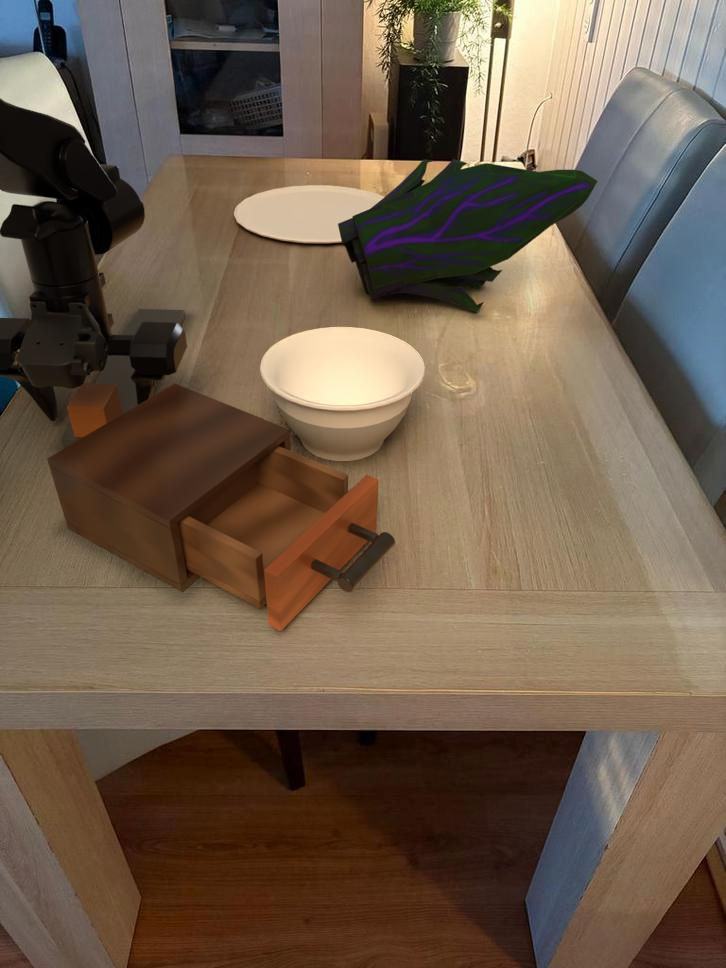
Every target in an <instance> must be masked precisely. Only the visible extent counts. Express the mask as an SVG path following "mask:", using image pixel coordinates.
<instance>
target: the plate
mask: <svg viewBox="0 0 726 968" xmlns="http://www.w3.org/2000/svg"><path fill="white" fill-rule="evenodd" d="M384 197H385V196H384V195H382V194H379V193H376V192H372V191H369V190H365V189H361V188H360V189H359V188H354V187H350V186H349V187H348V186H339V185H325V184H321V185H320V184H319V185H318V184H308V185H293V186H284V187H278V188H273V189H269V190H265V191H261V192H258V193H255V194H253V195H251V196H248V197H246V198H245V199H243V200H242V201H241V202H239V203H238V204H237V205H236V206H235V209H234V211H233V217H234V218H235V220H236V223H237V224H239V225H240V226H241V227H243V228H244V229H245V230H247V231H249V232H251V233H254V234H256V235H258V236H262V237H265V238H269V239H273V240H277V241H283V242H291V243H300V244H327V245H328V244H340V243H342V240H341V236H340V232H339V227H338V223H341V222H343V221H346V220H348V219H351V218H353V217H352V216H354V215H357V214H359V213H361V212H364V211H366V210H369V209H370V208H372V207H373V206H374V205H375V204H377V203H378V202H379V201H380V200H382V199H383V198H384Z"/></svg>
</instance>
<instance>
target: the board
mask: <svg viewBox="0 0 726 968" xmlns="http://www.w3.org/2000/svg"><path fill="white" fill-rule="evenodd" d="M137 309H138V310H137V311H136V313H135V315H134V316H133V318H132V320H131V321H130V323H129V325H128V326H127V328H126V330H125V331H124V332H123V335H135V334H136V332H137V330H138V329H139V327H140V325H141V323H142V322H169V323H178V324H179V325H180V327H181V328H182V325H183V323H184V321H185V319H186V310H185V309H162V308H161V309H159V308H137ZM134 370H135V369H134V368H132V367H131V362H130V357H129V356H117V355H110V357H108V359H107V361H106V365H105V368H104V370H103V371H100V373H99V375H98V377H97V378H96V380H95V381H94V384H116V385H117V389H118V393H119V398H120V403H121V408H122V412H123V414H124V413H125V412H127V411H129V410H130V409H132V408H134V407H135V406H137V405H138V404H137V394H136V385H135V383H134V382H133V380H132V379H131V376H132V374H133V372H134ZM79 439H81V438H78V437H75V436H74V433H73V429H72V425H71V423H70V424H69V425H68V427H67V429H66V431H65V432H64V434H63V436H62V437H61V444H62V448H66V447H67V446H69V445H71V444H73V443H74V442H76V441H78V440H79Z"/></svg>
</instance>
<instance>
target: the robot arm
mask: <svg viewBox="0 0 726 968" xmlns="http://www.w3.org/2000/svg"><path fill="white" fill-rule="evenodd" d="M0 191H2V192H4V193H8V194H14V195H21V196H29V197H40V198H47V199H48V198H49V199H55V200H56V201H53V200H44V201H43V200H42V201H40V202H37V203H35V204H34V205H25V204H18V203H13V204H12V205H11V207H10V211H9V214H8V215H7V217H6V218H5V219H4V220H3V221H2V223H1V226H0V236H1V237H2V238H6V239H15V240H20V242H21V245H22V249H23V253H24V256H25V257H24V258H25V261H26V265H27V268H28V271H29V275H30V279H31V283H32V287H33V292H32V293H31V294H30V296H29V297H28V299H29V307H30V312H31V314H30V315H31V316H30V318H26V317H0V377H1V378H6V379H9V380H13V381H15V382H17V384H19V385H20V387H22V389H24V390H25V392H26V393H27V394H28V395H29V396H30V397H31V399H32V400H33V401H34V402H35V403H36V405H37V406H38V407H39V408H40V410H41V411H42V412H43V413H44V415H45V416H46V418H48V420H49V421H50V422H56V421H57V419H58V417H59V409H58V403H57V397H56V393H55V389H54V388H55V387H56V388H65V389H78V388H79V387H80V386H81V385H82V384H83V383H86V378H87V376H90V375H91V373H93V372H102V371H103V370H104V368H105V365H106V363H107V362H108V358H109V356H111V355H117V356H129V357H130V362H131V367H132V368H134V369H135V370H134V372H133V374H132V376H131V379H132V380H133V382H134V383H135V385H136V394H137V404H138V405H139V404H141V403H142V402H144V401H146V400H147V399H149V398H151V397H152V396H154V392H155V388H156V384H157V382H158V381H159V382H160V381H162V380H164V379H165V377H166V376H170V375H172V374H175V373H177V371H178V369H179V366H180V364H181V361H182V360H183V357H184V355H185V353H186V350H187V348H188V344H187V335H186V331H185V330H184V328H182V326H181V327H180V325H179V324H178V323H169V322H142V323H141V325H140V327H139V329H138V330H137V332H136V334H135V335H124V334H112V329H111V328H112V327H113V325H114V323H115V322H114V318H113V313H108V310H107V305H106V301H105V296H104V292H103V291H104V290H103V287H104V286H105V285H106V278H105V274H104V272H99V267H98V262H97V258H96V256H99V255H104V254H106V253H108V252H109V251H110V250H112V249H114V248H115V247H117V246H118V245H120V244H121V243H122V242H124V241H126V240H128V239H129V238H131V237H132V236H133V235H134V234H136V233H137V232H138V231H140V230H141V229H142V227H143V224H144V222H145V218H146V211H145V205H144V203H143V202H142V200H141V198H140V196H139V194H138V192H137V191H136V190H135V189H134V188H133V186H132V185H130V183H128V182H127V181H126V180H124V179H122V178H121V174H120V168H119V166H118V165H114V164H113V165H112V164H104V163H99V161H98V160H97V158H96V157H95V156H94V155H93V153H92V151H91V150H90V149H89V147H88V146H87V144H86V140H85V138H84V136H83V134H82V133H81V132H80V131H79V129H78V128H76V126H74V125H72V124H71V123H68V122H66V121H64V120H61V119H58V118H56V117H54V116H52V115H49V114H46V113H42V112H39V111H35V110H31V109H27V108H24V107H20V106H17V105H14V104H12V103H9V102H7V101H5V100H4V99H2V98H1V97H0Z"/></svg>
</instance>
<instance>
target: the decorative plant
mask: <svg viewBox="0 0 726 968" xmlns="http://www.w3.org/2000/svg"><path fill="white" fill-rule="evenodd" d="M432 162H434V160H432V159H425V158H424V159H422V160H421V161H420V162H419V164H418V165H417V166H416V167H415V168H414V169H413V170H412V171H411V172H410V173H409V174H408V175H407V176H406V177H405V178H404V179H403V180H402V181H400V183H399V184H398V185H397V186H396V187H394V188H393V189H392V190H391V191H390V192H389V193H387V194H386V195H385V196H384V198H383V199H382V200H380V201H379V202H378V203H377V204H375V205H374V206H373V207H372V208H370V209H369V210H366V211H364V212H361V213H359V214H357V215H354V216H352V217H353V218H351V219H348V220H346V221H343V222H341V223H338V227H339V232H340V236H341V240H342V242H341V244H342V247H344V248H345V250H346V254H347V255H348V258H349V260H350V262H351V264H353V263H355V265H356V268H357V272H358V275H359V278H360V281H361V284H362V287H363V290H364V293H365V294H368V295H369V297H370V299H371V300H374V299H377V298H380V297H384V296H387V295H396V294H412V295H418V296H423V297H426V298H427V297H428V298H432V299H436V300H440V301H444V302H446V303H447V302H448V303H451V304H453V305H456V306H459V307H462V308H465V309H468V310H469V311H472V312H474V313H476V314H477V313H478V312H479V310H480V309H481V307H482V306H483V304H484V303H485V301H483V302H480V303H478V304H477V303H476V302H475V300H474V299H473V298H472V296H471V295H470V294H469V293H468V292H467V291H466V290H464V289H463V288H466V287H467V288H473V289H478V290H479V289H480V288H482V287H483V286H484V285H485V284H486V282H489V283H492V282H493V281H494V280H495V279H496V278H497V277H498V276H499V275H500V274H501V273H502V272H503V269H494V268H493V266H495V265H498V264H500V263H503V262H505V261H508V260H510V259H511V258H512V257H514V256H515V255H516V254H517V253H518V252H520V251H521V250H522V249H524V248H525V247H526V246H528V245H529V244H530V243H531V242H532V241H534V240H535V239H536V238H537V237H539V236H540V235H541V234H543V233H544V232H545V231H546V230H548V229H549V228H551V226H553V225H555V224H557V223H558V222H560V221H562V220H563V219H565V218H567V217H569V216H571V215H572V214H573V213H574V212H576V211H577V210H578V209H579V208H581V207H582V206H583V205H584V204H585V203H586V202H587V201H588V199H589V197H590V196H591V194H592V192H593V190H594V189H595V187H596V185H597V183H598V180H597V179H595V178H594V177H592V176H591V175H589V174H588V173H586V172H585V171H583V170H578V169H551V170H542V171H541V170H540V171H537V170H530V169H524V168H518V167H512V166H508V165H507V166H506V165H502V164H501V165H500V164H495V163H488V162H485V163H481V164H477V165H473V166H469V167H464V166H467V164H469V162H466V161H463V160H458V159H455V158H453V159H451V161H450V162H449V163H448V164H447V165H446V166H445V167H444V168H443V169H442V170H441V171H440V172H439V173H438V174H437V175H436V176H435V177H433V178H432V179H431V180H429V181H427V182H426V180H425V179H423V178H424V176H425V174H426V172H427V167H428V164H429V163H432ZM425 182H426V183H425Z"/></svg>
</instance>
